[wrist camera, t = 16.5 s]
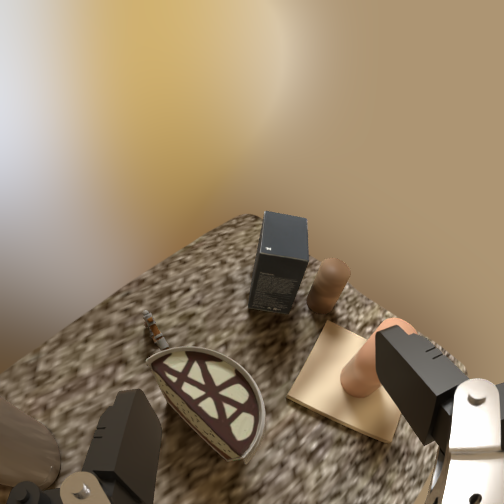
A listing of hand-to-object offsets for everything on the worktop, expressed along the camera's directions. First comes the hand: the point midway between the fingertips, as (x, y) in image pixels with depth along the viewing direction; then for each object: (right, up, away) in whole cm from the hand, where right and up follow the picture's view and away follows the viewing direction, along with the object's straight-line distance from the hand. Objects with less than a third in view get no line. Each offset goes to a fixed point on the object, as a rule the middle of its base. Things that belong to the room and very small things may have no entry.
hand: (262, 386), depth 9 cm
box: (+2, -1, +34) cm, 34 cm away
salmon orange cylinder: (+13, -11, +24) cm, 30 cm away
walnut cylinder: (+9, -3, +33) cm, 35 cm away
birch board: (+12, -12, +25) cm, 30 cm away
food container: (-4, -13, +21) cm, 25 cm away
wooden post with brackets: (-11, -8, +25) cm, 29 cm away
